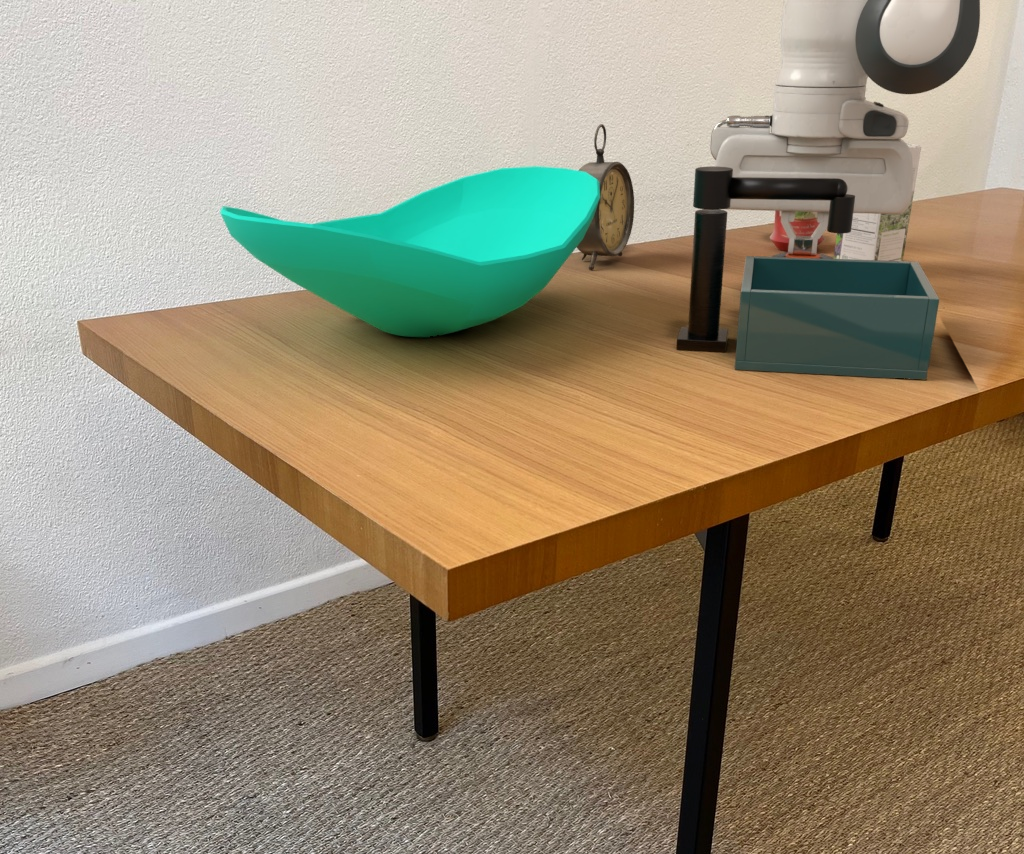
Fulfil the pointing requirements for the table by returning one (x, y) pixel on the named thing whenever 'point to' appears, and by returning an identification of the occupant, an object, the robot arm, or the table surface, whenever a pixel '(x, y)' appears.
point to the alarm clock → (609, 208)
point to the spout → (773, 193)
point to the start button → (803, 256)
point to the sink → (836, 317)
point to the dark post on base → (706, 285)
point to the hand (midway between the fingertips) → (801, 254)
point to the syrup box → (878, 230)
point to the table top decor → (434, 249)
